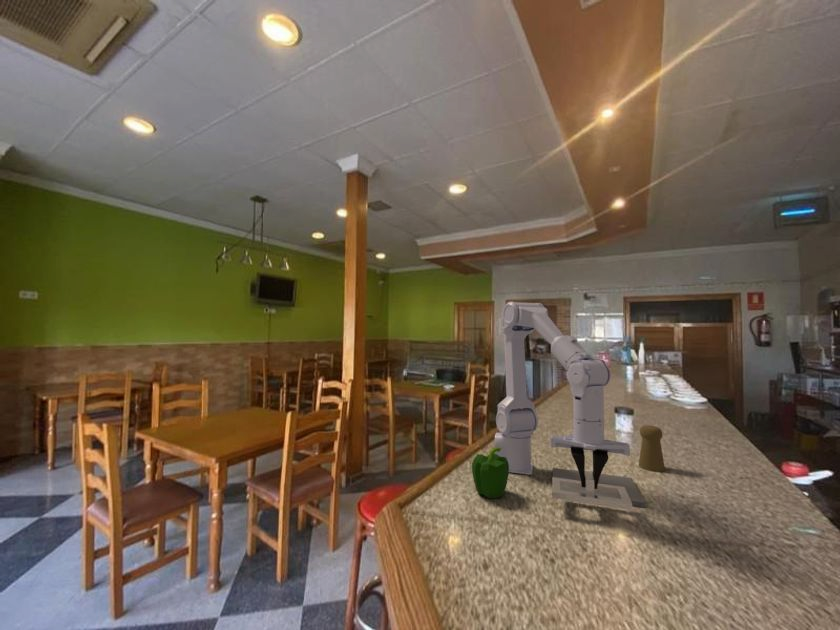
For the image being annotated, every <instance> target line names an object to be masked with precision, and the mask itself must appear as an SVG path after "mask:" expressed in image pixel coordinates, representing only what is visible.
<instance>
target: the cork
mask: <svg viewBox="0 0 840 630" xmlns="http://www.w3.org/2000/svg"><path fill="white" fill-rule="evenodd" d="M639 433H640V436H641V437H642V438H641V444H640V452H639V453H640V454H639V460H638V461H639V462H638V467H639V468H641V469H643V470H646V471H650V472H657V473H661V472H666V468H665V467H666V466H665V461H664V460H665V459H664V456H663V449H662V443H661V439H662V438H663V430H662V429H661V428H660V427H658V426H654V425H648V424H647V425H642V426H641V427H640V428H639Z"/></svg>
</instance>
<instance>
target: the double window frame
mask: <svg viewBox="0 0 840 630" xmlns="http://www.w3.org/2000/svg"><path fill="white" fill-rule="evenodd" d="M592 472H593V470H591V471H589V470H585V487H582V486H581V481H577V480H570V479H563V478H555V477H553V476H552V479H551V480H552V481H551V483H552V485H551V488H552V492H551V494H552V497H551V498H552V499H557V500H563V501H569V502H574V503H575V502H576V503H583V504H588V505H589V504H590V505H595V506H601V507H608V508H614V509H621V510H625V511H633V506H632V502H631V500H630V498H629V496H628V494H627V491H626V489H625V487H621V486H614V485H606V484H599V483H598V486H597V489H594V478H593V474H592ZM560 486H561V487H567V488H574V489H581V490H584V492H585V494H584V493H577V492H570V491H563V490H560ZM594 491H595V492H602V493H609V494H616V495H618V497H619V499H617V498H611V497H604V496H597V495H594Z"/></svg>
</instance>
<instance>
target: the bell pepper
mask: <svg viewBox="0 0 840 630" xmlns="http://www.w3.org/2000/svg"><path fill="white" fill-rule="evenodd" d="M500 450H501V448H499V447H495V448H494V447H492V449H490V451H489V454H487V455H484V454H481V453H477V454H476V455H475V457H474V458H473V460H472V462H471V473H472V478H473V483H474V486H475V491H476V492H477V493H478V494H479V495H483V494H484V495H483V496H485V497H486V498H488V499H499V498H501V497H502V496H503V494H504V493H505V490H506V489H507V483H508V480H509V476H510V475H509V473H510V472H509V465H508V461H507V458H506V457H500V456H499V455H497V454H494V453H495V452H496V451H498V452H499V451H500Z"/></svg>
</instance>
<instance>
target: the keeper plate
mask: <svg viewBox="0 0 840 630" xmlns="http://www.w3.org/2000/svg"><path fill="white" fill-rule="evenodd" d="M592 474H593V471H592ZM552 477H555V478H563V479H570V480H577V481H581V478H580V474H579V471H578V470H572V469H564V468H558V467H552ZM598 483H599V484H606V485H614V486H621V487H625V489H626V491H627V494H628V496H629V498H630V500H631V502H632V507H638V508H643V509H644V508H646V502H645V500H644V498H643V496H642V494H641V493H640V490H639V488H638V487H637V485H636V483H635V481H634V480H633V477H630V476H628V477H627V476H620V475H612V474H605V473H601V475H600V478H599V481H598ZM560 490H563V491H570V492H577V493H584V494H585V492H584V490H581V489H574V488H567V487H561V486H560ZM594 495H597V496H604V497H611V498H617V499H619V497H618V495H616V494H609V493H602V492H595V491H594Z"/></svg>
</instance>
